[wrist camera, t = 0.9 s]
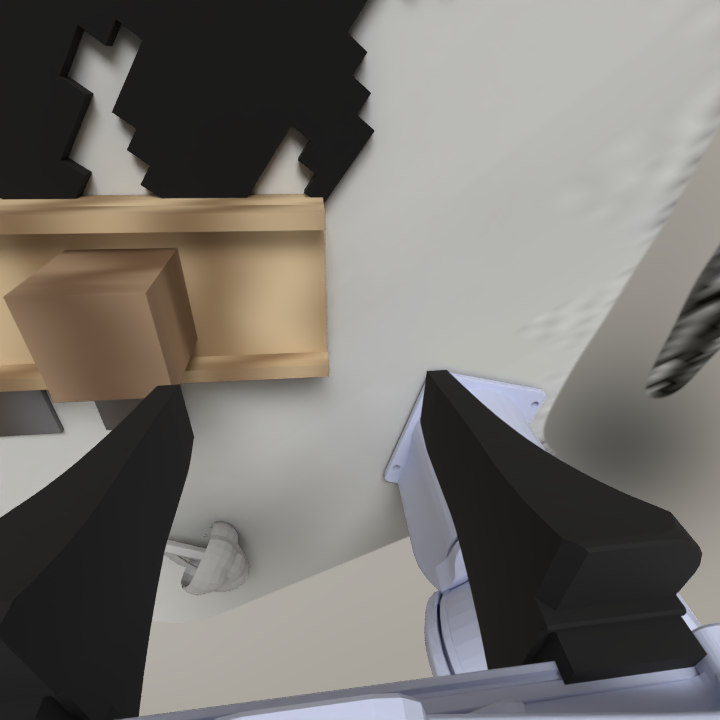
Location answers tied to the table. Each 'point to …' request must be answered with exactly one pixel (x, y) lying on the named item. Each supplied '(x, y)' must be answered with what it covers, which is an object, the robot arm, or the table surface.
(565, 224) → the table surface
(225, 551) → the mushroom
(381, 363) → the table surface
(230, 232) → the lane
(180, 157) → the black pixelated cutout
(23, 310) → the walnut block
